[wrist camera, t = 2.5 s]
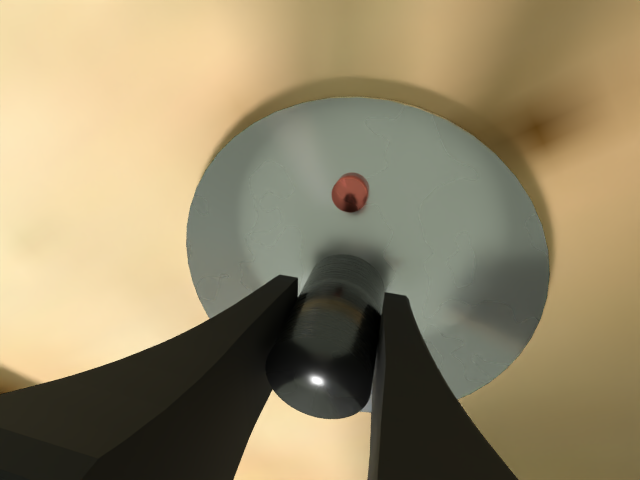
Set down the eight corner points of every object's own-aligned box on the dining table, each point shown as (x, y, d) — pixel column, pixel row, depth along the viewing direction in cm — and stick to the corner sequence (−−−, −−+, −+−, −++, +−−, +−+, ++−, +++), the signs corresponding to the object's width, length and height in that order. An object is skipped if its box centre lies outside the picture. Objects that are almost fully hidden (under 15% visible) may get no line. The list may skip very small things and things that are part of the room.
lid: (488, 426, 14) (520, 578, 10) (215, 366, 16) (148, 465, 12) (607, 105, 8) (792, 138, 4) (172, 88, 11) (25, 98, 7)
